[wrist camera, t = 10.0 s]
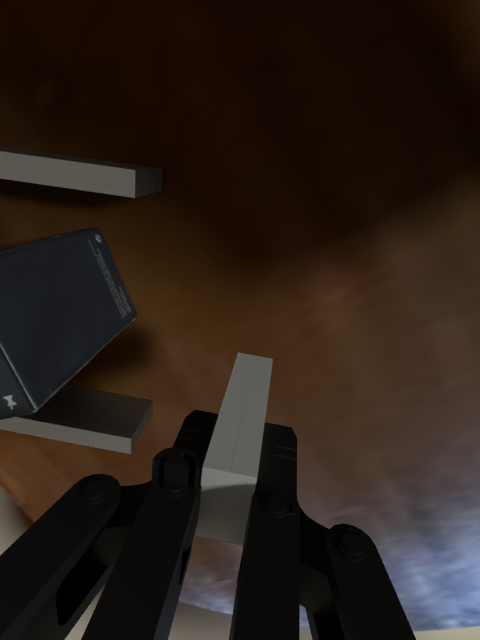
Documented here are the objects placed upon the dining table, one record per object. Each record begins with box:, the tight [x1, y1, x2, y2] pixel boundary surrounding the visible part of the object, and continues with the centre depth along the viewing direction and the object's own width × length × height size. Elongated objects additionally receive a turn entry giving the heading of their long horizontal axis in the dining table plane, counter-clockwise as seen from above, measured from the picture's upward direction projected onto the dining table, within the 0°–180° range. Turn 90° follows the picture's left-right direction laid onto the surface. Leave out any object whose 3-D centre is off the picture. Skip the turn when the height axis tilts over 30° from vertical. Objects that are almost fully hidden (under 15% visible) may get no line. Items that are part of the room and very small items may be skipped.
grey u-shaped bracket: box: [0, 146, 163, 454], centre depth 22 cm, size 16×14×6 cm
